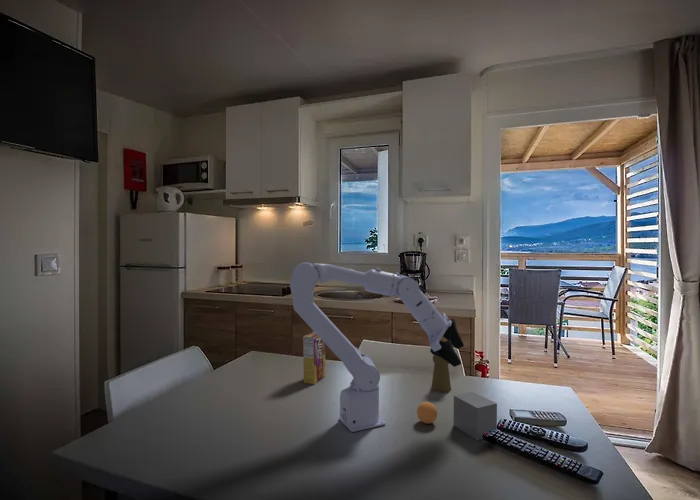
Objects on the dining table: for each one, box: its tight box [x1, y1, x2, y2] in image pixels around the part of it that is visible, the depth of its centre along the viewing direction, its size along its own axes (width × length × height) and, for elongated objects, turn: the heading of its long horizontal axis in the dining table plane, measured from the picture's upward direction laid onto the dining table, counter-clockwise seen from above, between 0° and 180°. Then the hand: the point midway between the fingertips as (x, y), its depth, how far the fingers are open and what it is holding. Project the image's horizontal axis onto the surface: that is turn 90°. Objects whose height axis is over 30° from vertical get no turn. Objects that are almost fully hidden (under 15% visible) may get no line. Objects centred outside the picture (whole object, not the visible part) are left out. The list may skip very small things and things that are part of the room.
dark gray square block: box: [453, 391, 498, 441], centre depth 91 cm, size 6×8×7 cm
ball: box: [416, 401, 438, 425], centre depth 95 cm, size 5×5×5 cm
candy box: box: [302, 330, 327, 385], centre depth 126 cm, size 9×4×15 cm, turn 160°
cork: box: [430, 354, 452, 393], centre depth 118 cm, size 6×6×11 cm
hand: (459, 355), depth 98 cm, fingers open, 7 cm apart
